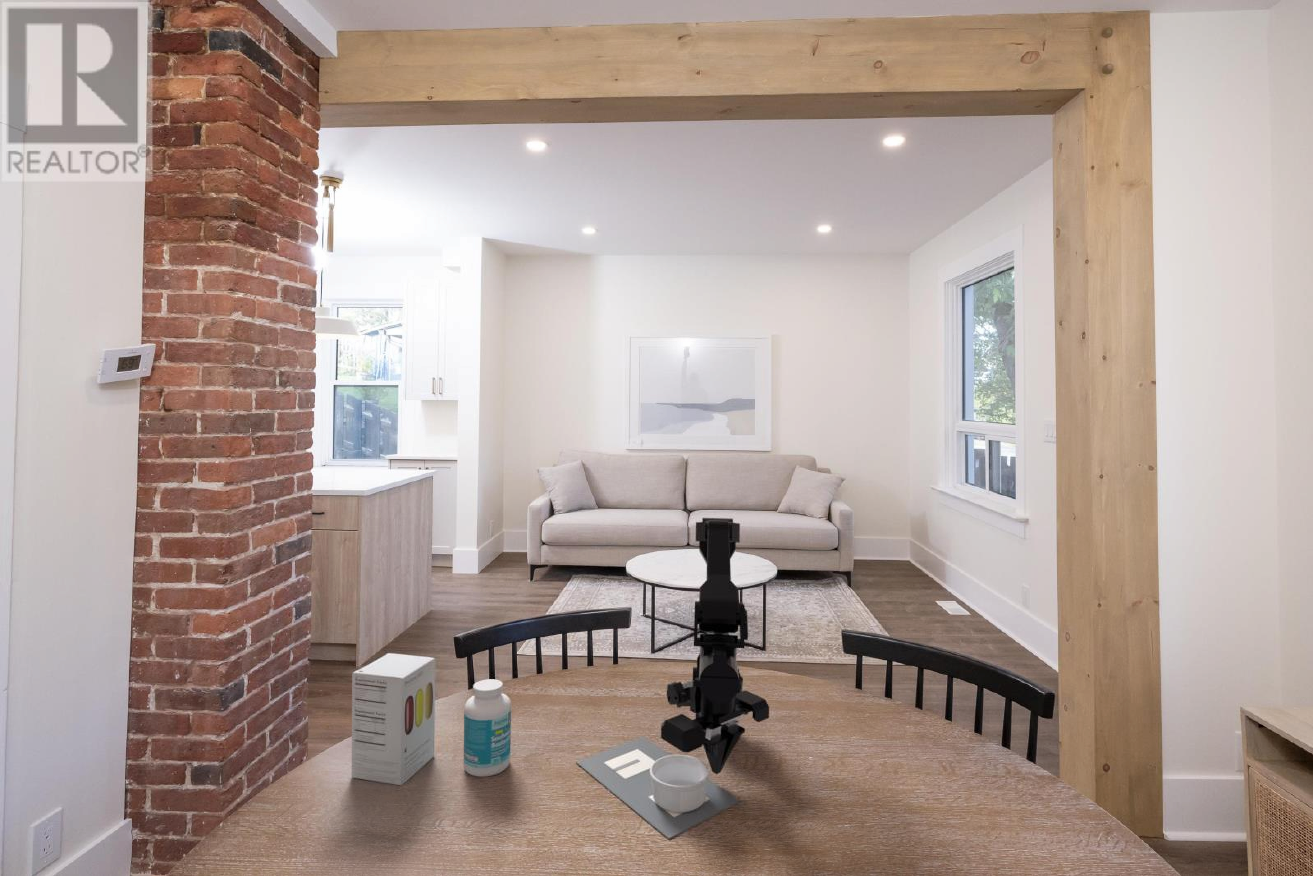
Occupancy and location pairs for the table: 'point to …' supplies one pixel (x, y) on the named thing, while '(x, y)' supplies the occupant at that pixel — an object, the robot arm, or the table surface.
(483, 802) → the table surface
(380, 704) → the supplement box
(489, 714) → the pill bottle
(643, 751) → the slate mat
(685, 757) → the ramekin
